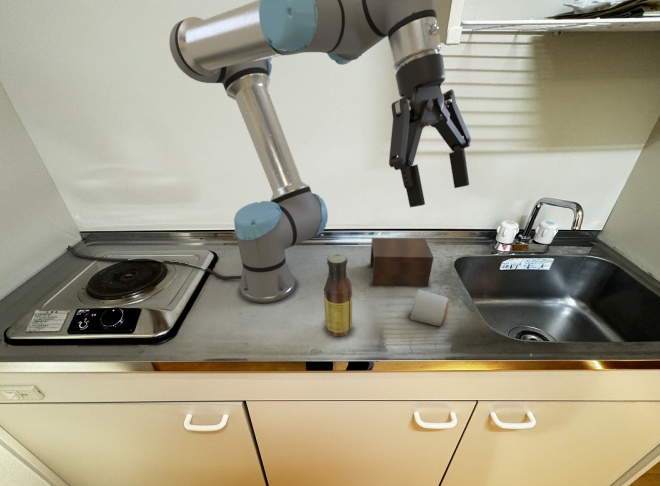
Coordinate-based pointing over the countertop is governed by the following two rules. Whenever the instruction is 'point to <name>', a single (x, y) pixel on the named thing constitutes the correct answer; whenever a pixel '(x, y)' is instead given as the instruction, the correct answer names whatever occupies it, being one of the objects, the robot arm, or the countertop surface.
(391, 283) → the wooden brown block
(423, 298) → the white cylinder
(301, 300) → the countertop surface
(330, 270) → the sauce bottle
